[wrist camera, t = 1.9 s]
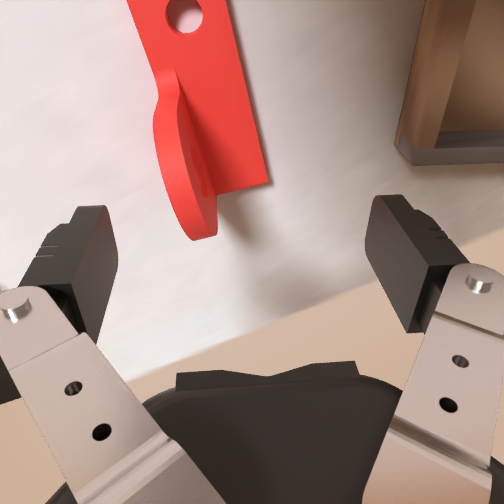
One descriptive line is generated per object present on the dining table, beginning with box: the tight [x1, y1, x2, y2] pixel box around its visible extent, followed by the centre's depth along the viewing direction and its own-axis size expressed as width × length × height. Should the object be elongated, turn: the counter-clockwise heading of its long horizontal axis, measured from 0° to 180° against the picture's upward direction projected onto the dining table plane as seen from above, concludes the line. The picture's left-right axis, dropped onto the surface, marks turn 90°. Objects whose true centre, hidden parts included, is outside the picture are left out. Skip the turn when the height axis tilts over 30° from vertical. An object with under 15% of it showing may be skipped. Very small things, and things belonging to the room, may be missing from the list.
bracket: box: [127, 0, 269, 241], centre depth 20 cm, size 12×4×8 cm, turn 13°
